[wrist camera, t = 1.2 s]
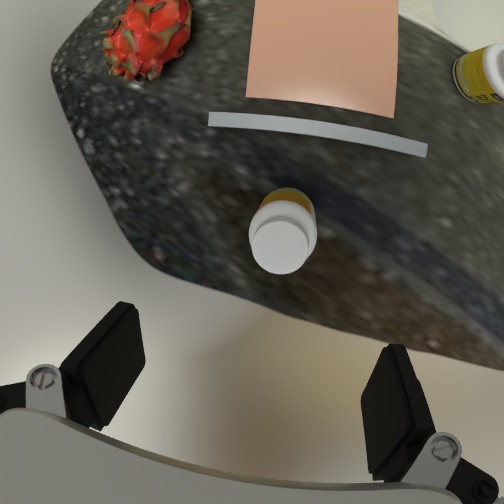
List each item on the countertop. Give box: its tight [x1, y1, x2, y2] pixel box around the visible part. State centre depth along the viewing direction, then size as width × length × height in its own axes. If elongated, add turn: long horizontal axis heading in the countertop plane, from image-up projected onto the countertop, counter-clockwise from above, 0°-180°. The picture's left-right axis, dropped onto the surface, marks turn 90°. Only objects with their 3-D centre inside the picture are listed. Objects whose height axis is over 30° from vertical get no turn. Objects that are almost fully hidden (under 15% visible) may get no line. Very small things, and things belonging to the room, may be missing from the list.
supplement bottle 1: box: [249, 187, 317, 274], centre depth 25 cm, size 5×5×10 cm
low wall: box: [208, 112, 428, 158], centre depth 24 cm, size 18×1×5 cm, turn 85°
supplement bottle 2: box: [453, 44, 504, 103], centre depth 16 cm, size 5×5×10 cm
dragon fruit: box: [100, 0, 193, 83], centre depth 21 cm, size 8×8×12 cm
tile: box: [246, 0, 398, 119], centre depth 22 cm, size 14×14×1 cm
